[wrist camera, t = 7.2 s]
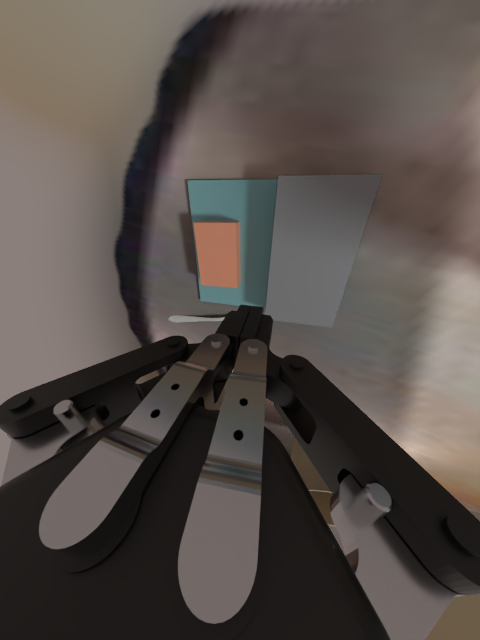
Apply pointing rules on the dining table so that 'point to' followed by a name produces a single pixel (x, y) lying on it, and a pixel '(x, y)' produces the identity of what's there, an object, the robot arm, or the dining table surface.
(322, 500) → the plant pot
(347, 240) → the panel
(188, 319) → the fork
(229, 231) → the tile
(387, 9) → the dining table surface
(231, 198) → the mat
